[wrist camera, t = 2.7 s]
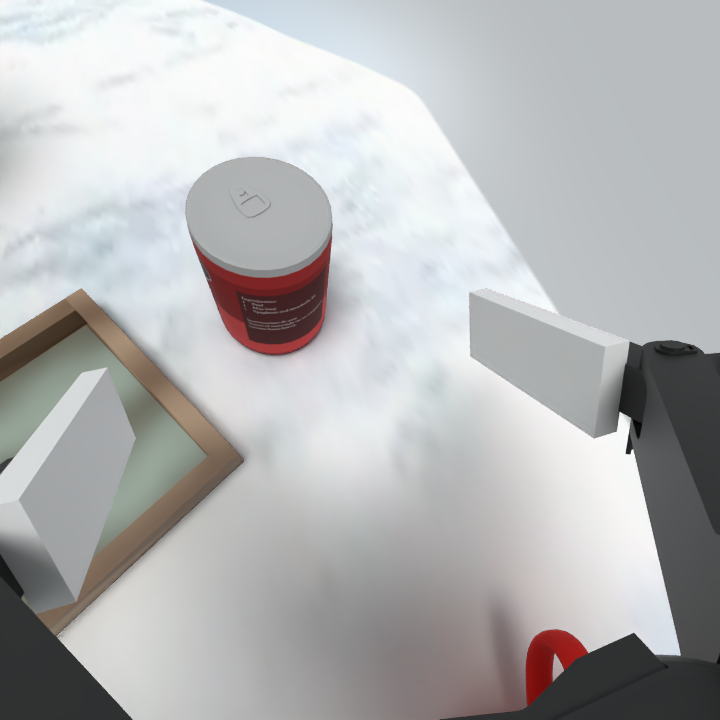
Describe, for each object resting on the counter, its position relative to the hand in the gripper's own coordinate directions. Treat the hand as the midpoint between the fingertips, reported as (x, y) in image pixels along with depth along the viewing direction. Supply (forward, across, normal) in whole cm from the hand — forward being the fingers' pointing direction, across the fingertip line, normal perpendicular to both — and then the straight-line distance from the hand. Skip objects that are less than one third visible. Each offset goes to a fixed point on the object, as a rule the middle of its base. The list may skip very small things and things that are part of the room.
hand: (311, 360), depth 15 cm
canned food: (+18, 0, -3) cm, 18 cm away
